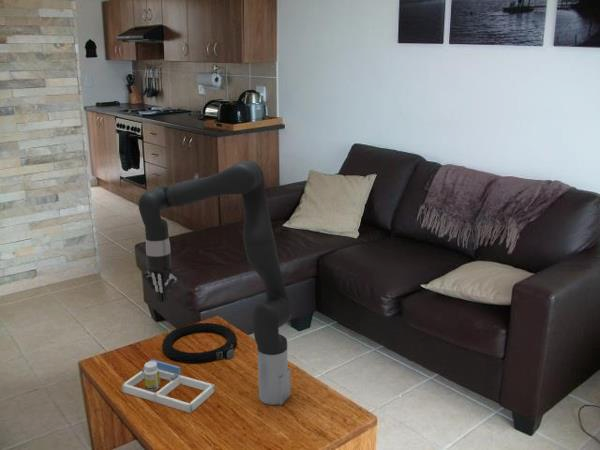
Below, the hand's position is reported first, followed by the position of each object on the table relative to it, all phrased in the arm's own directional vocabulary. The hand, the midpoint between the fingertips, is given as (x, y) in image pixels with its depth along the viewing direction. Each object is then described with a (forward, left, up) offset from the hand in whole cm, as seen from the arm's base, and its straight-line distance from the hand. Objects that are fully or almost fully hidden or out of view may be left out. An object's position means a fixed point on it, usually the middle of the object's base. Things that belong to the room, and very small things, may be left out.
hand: (162, 301), depth 190 cm
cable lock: (+1, -22, -28) cm, 35 cm away
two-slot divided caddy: (-7, +8, -27) cm, 29 cm away
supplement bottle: (0, +8, -27) cm, 28 cm away
